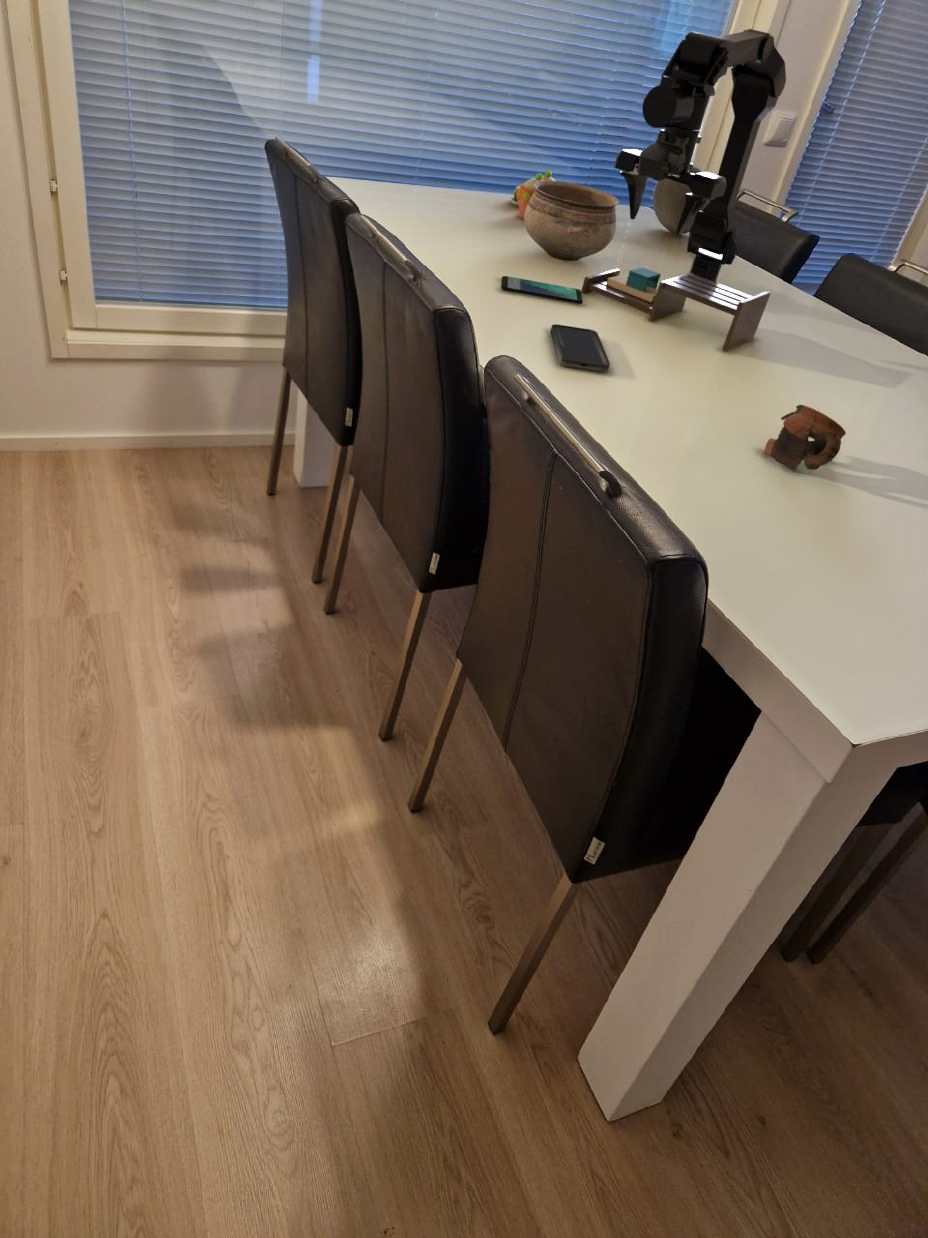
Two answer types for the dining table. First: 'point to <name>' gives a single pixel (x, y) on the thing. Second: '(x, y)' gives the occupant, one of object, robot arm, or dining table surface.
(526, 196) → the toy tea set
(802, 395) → the dining table surface
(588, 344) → the phone
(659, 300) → the shoe rack
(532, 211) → the cooking pot
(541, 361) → the dining table surface
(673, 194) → the cantaloupe
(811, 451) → the pottery mug
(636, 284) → the wall mail holder
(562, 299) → the smartphone
